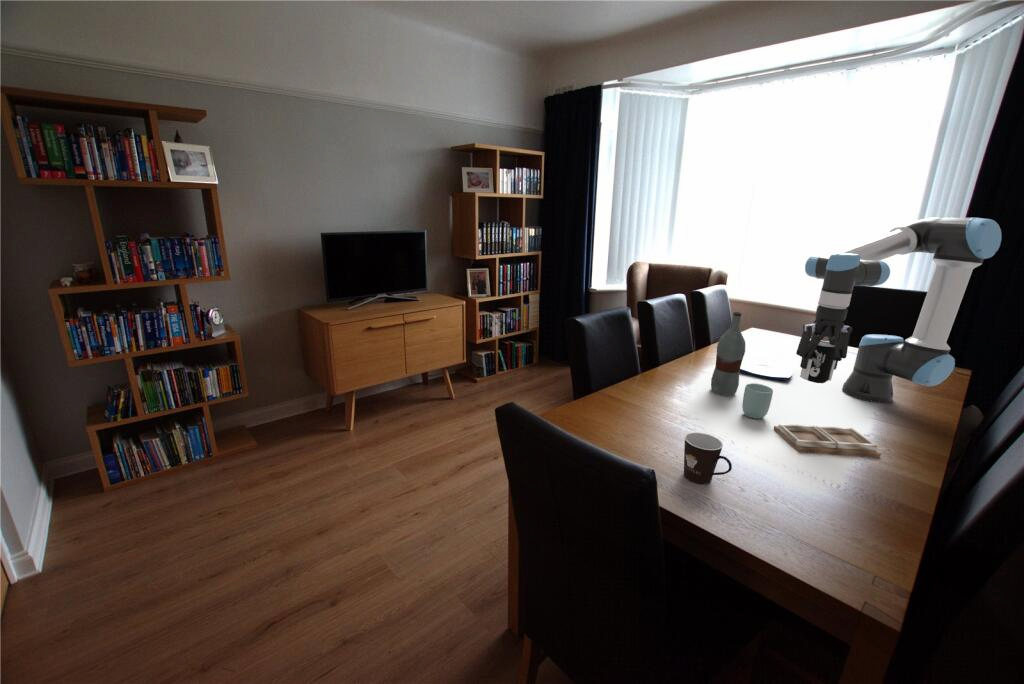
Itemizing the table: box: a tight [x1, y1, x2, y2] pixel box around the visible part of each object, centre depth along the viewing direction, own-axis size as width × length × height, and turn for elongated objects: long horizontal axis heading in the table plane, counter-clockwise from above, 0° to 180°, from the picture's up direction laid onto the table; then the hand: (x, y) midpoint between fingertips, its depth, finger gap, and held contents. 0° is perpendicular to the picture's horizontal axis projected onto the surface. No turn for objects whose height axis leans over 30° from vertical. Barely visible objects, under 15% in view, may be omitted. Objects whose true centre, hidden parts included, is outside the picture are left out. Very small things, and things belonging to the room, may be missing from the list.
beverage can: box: [807, 340, 836, 384], centre depth 141 cm, size 7×7×12 cm
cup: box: [741, 382, 774, 420], centre depth 148 cm, size 8×8×10 cm
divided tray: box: [773, 423, 882, 458], centre depth 133 cm, size 22×14×3 cm, turn 87°
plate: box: [739, 356, 793, 380], centre depth 192 cm, size 20×20×3 cm
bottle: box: [710, 311, 746, 397], centre depth 164 cm, size 9×9×30 cm
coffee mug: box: [683, 432, 733, 485], centre depth 110 cm, size 12×9×10 cm
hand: (815, 378), depth 142 cm, fingers closed on beverage can, 7 cm apart
